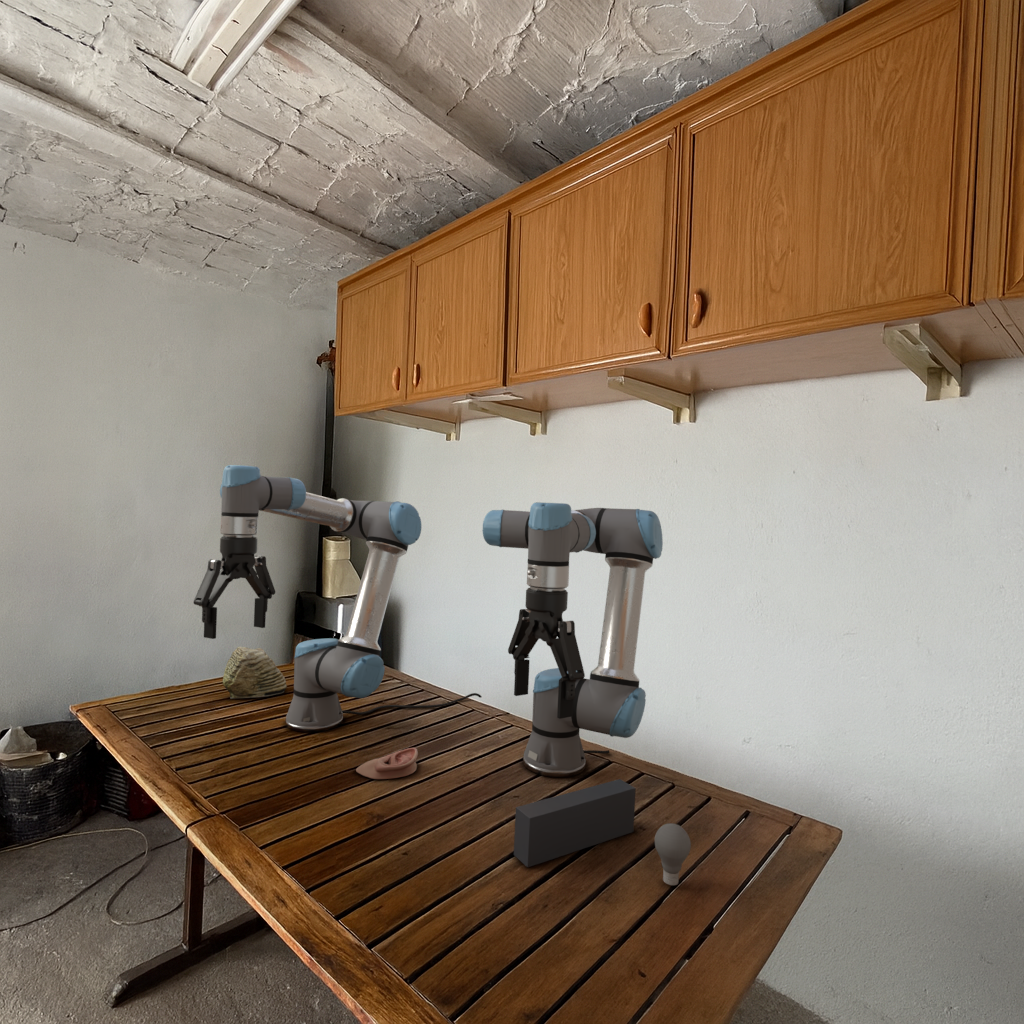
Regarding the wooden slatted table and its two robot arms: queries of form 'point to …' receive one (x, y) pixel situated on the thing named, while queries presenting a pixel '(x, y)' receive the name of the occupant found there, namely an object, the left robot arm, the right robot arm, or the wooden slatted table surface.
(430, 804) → the wooden slatted table surface
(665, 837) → the light bulb
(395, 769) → the anatomical model
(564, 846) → the bar
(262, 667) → the fossil
